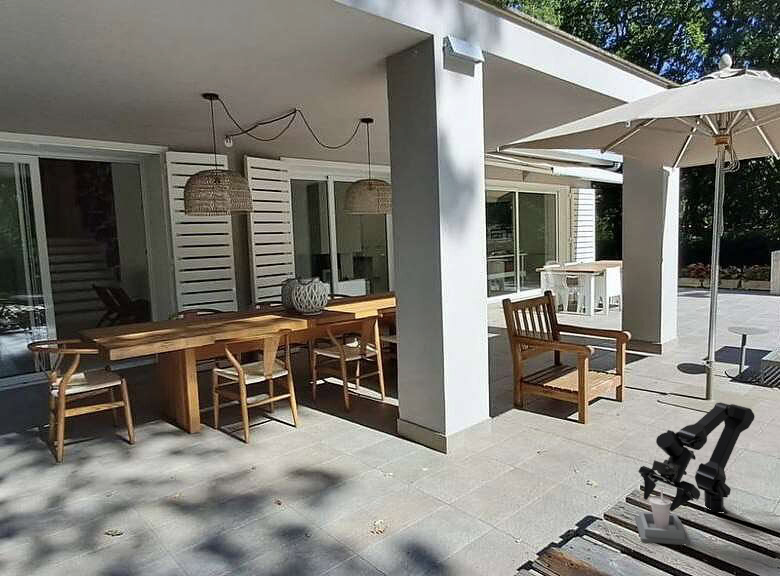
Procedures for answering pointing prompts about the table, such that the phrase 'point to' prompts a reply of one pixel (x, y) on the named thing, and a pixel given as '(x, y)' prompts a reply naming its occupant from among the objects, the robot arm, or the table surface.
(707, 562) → the table surface
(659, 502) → the smoothie
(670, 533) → the holder
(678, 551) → the table surface
